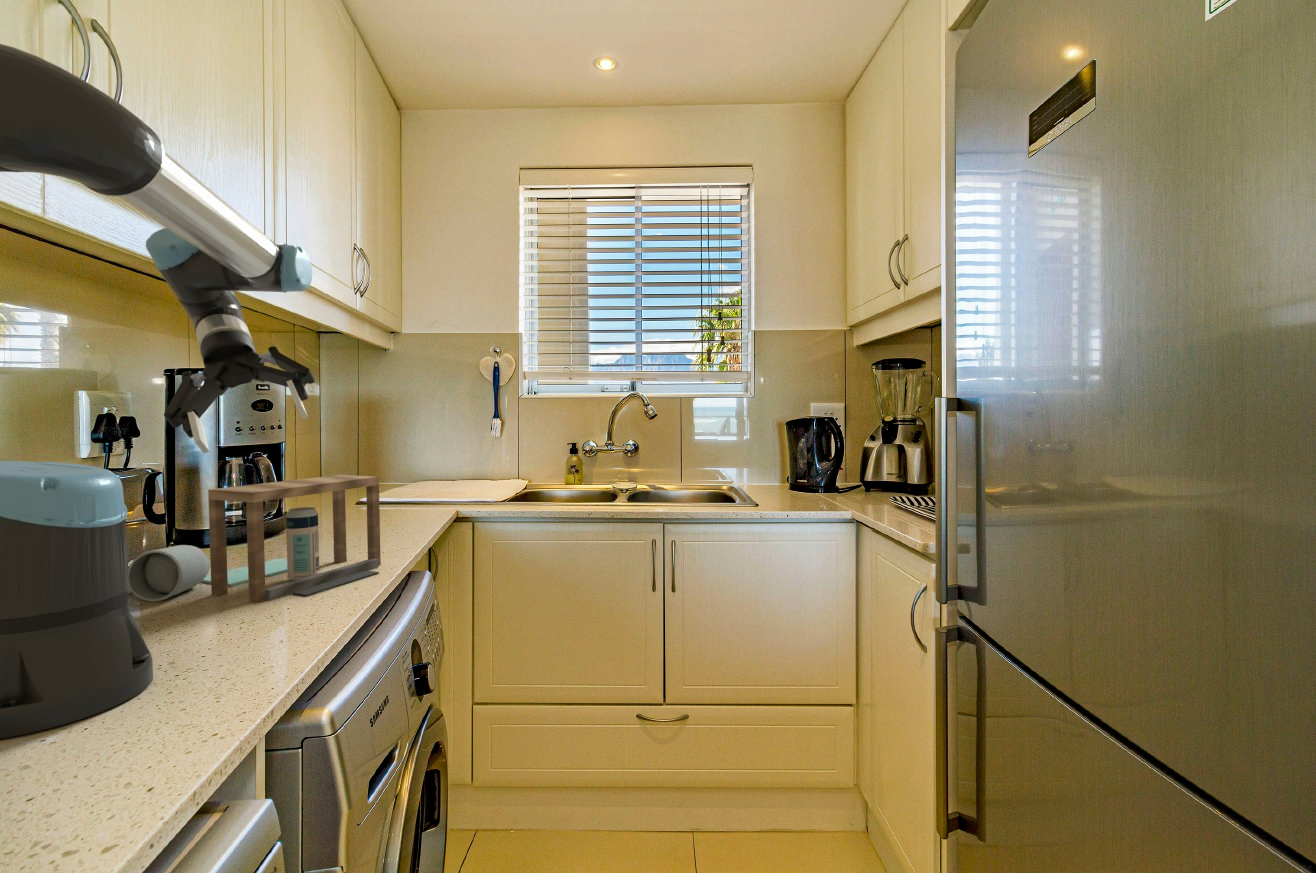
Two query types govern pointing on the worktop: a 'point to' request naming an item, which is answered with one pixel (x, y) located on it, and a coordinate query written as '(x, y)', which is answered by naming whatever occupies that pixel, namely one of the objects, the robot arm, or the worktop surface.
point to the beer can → (302, 543)
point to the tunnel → (255, 531)
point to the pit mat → (335, 583)
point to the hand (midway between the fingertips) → (253, 429)
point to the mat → (241, 574)
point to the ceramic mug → (166, 572)
